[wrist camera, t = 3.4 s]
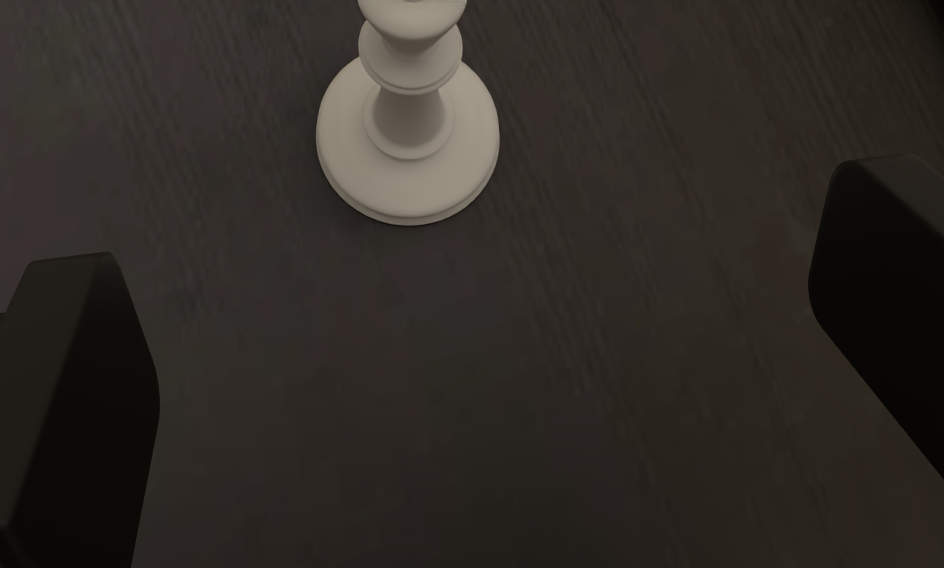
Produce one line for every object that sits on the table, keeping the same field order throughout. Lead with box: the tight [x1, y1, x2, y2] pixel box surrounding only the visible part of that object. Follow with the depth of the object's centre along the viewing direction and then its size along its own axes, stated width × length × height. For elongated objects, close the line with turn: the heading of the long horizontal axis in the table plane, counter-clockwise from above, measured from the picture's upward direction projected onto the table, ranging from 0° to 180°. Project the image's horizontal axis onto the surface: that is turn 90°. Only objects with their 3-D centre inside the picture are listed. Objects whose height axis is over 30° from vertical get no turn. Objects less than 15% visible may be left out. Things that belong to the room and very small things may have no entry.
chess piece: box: [316, 0, 500, 226], centre depth 18 cm, size 5×5×10 cm
